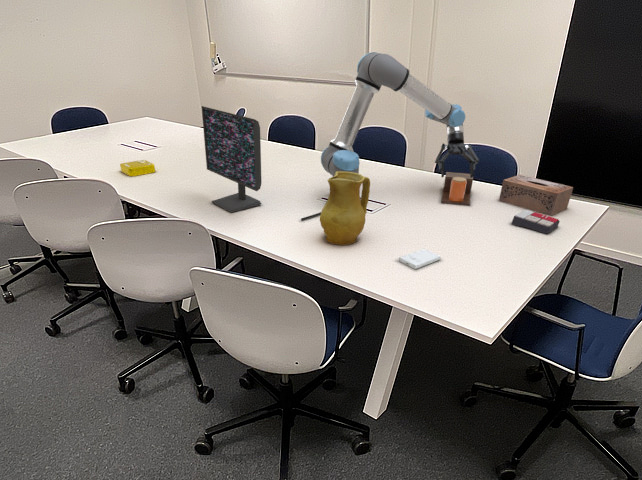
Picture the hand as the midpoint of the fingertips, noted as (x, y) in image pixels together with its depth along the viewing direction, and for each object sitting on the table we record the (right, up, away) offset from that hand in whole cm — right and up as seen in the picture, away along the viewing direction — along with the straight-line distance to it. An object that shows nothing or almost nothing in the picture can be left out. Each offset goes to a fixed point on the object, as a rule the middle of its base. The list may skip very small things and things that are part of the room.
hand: (457, 176), depth 209 cm
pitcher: (-55, -34, -35) cm, 74 cm away
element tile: (-168, +15, +44) cm, 174 cm away
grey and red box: (+25, -27, -23) cm, 44 cm away
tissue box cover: (+35, -14, -1) cm, 37 cm away
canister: (0, -10, +2) cm, 11 cm away
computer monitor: (-104, -14, -2) cm, 104 cm away
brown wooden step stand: (+2, -8, +9) cm, 12 cm away
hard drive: (-30, -44, -51) cm, 74 cm away
